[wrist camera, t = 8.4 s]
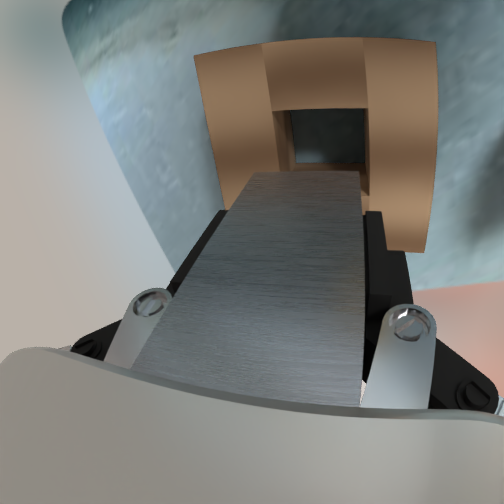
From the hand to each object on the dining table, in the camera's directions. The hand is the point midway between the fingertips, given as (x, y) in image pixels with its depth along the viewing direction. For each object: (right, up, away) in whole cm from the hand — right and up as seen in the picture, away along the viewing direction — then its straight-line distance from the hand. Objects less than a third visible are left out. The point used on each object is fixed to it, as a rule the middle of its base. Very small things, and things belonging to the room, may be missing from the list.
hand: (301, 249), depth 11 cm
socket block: (+4, +9, +12) cm, 16 cm away
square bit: (+1, +1, +2) cm, 2 cm away
